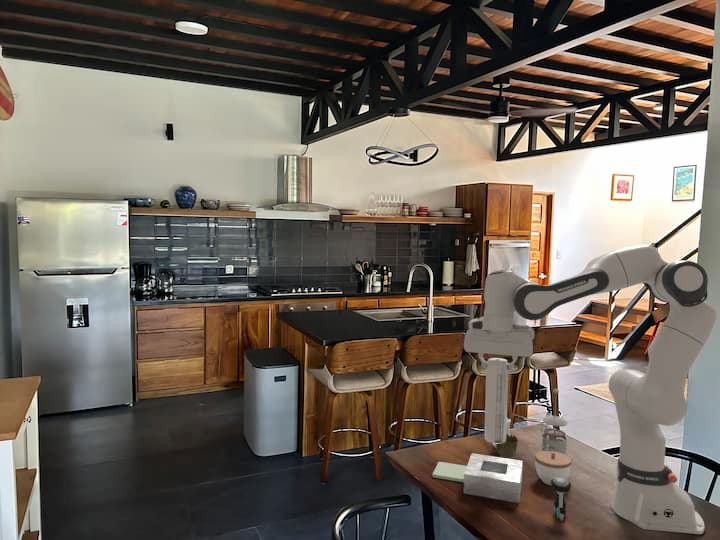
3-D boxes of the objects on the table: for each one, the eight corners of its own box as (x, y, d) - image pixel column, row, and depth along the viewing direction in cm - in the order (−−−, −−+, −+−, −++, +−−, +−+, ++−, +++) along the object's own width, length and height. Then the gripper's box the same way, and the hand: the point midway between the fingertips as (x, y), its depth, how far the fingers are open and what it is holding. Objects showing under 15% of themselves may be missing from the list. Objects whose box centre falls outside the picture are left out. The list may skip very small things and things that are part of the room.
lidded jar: (532, 472, 173) (533, 444, 172) (566, 475, 171) (567, 447, 170) (536, 487, 162) (537, 458, 161) (573, 491, 160) (574, 461, 159)
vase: (488, 445, 194) (489, 419, 193) (499, 440, 199) (500, 414, 198) (506, 452, 188) (507, 424, 188) (517, 446, 193) (518, 420, 193)
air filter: (508, 438, 163) (511, 358, 161) (502, 445, 157) (505, 362, 156) (488, 434, 166) (490, 356, 164) (481, 440, 160) (483, 360, 159)
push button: (572, 523, 142) (573, 487, 141) (551, 520, 143) (552, 485, 143) (568, 510, 149) (569, 476, 148) (548, 508, 150) (549, 474, 149)
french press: (549, 467, 176) (551, 394, 175) (530, 453, 188) (532, 384, 186) (574, 464, 179) (577, 392, 177) (554, 450, 190) (557, 382, 188)
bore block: (522, 479, 167) (522, 460, 167) (519, 503, 152) (519, 483, 152) (471, 470, 173) (471, 453, 172) (463, 493, 158) (464, 473, 157)
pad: (468, 469, 174) (468, 466, 174) (463, 482, 165) (463, 479, 165) (438, 464, 178) (438, 461, 178) (432, 477, 168) (432, 474, 168)
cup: (517, 465, 177) (518, 442, 177) (495, 463, 179) (496, 440, 178) (515, 456, 185) (516, 434, 184) (494, 454, 186) (495, 432, 186)
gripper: (535, 324, 159) (533, 369, 160) (466, 319, 166) (465, 363, 167) (534, 327, 153) (532, 374, 154) (463, 322, 160) (462, 367, 161)
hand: (497, 368), depth 160 cm, fingers closed on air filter, 6 cm apart
